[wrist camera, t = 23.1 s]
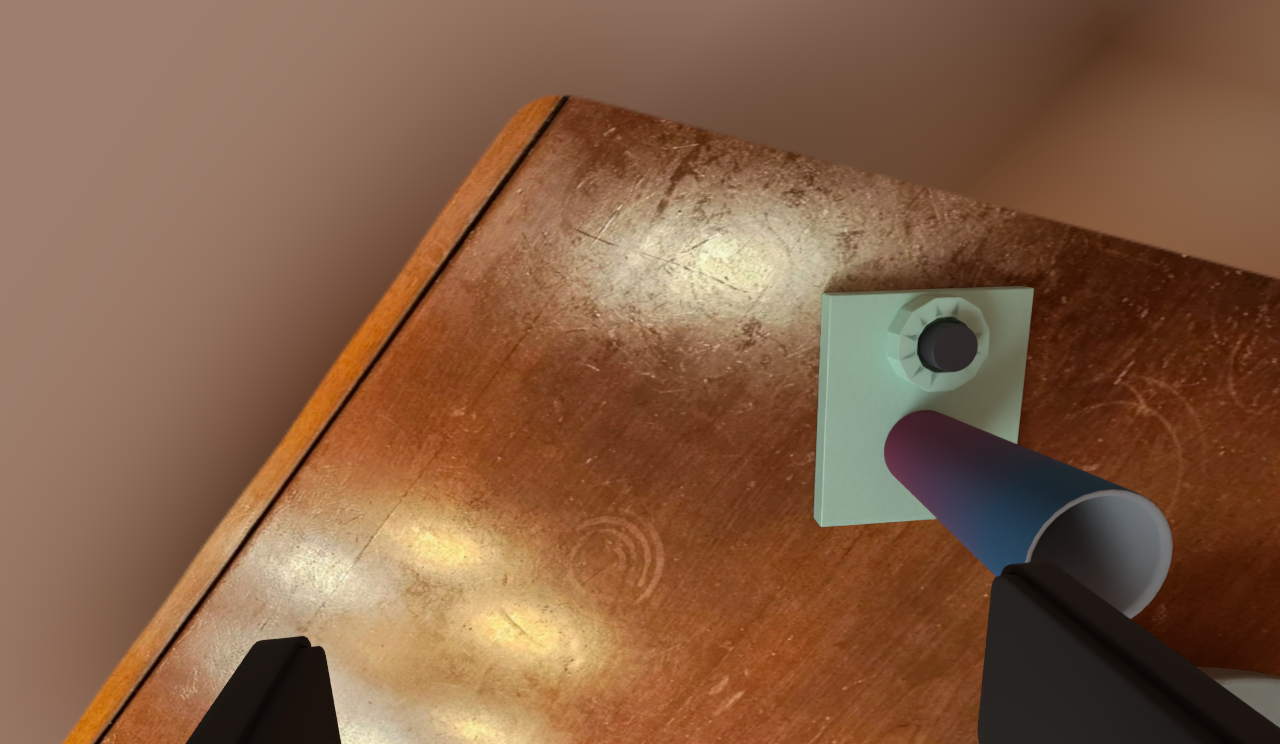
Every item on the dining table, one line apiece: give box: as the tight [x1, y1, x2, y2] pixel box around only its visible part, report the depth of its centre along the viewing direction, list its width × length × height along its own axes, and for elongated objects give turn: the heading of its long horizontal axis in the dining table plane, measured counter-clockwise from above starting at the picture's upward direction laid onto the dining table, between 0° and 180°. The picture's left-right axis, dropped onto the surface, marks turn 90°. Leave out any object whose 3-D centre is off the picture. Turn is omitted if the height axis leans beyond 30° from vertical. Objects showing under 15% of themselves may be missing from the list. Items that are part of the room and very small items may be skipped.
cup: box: [884, 410, 1173, 619], centre depth 36 cm, size 7×7×15 cm
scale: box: [814, 286, 1034, 527], centre depth 43 cm, size 15×13×3 cm
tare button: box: [919, 321, 978, 372], centre depth 40 cm, size 3×3×2 cm
